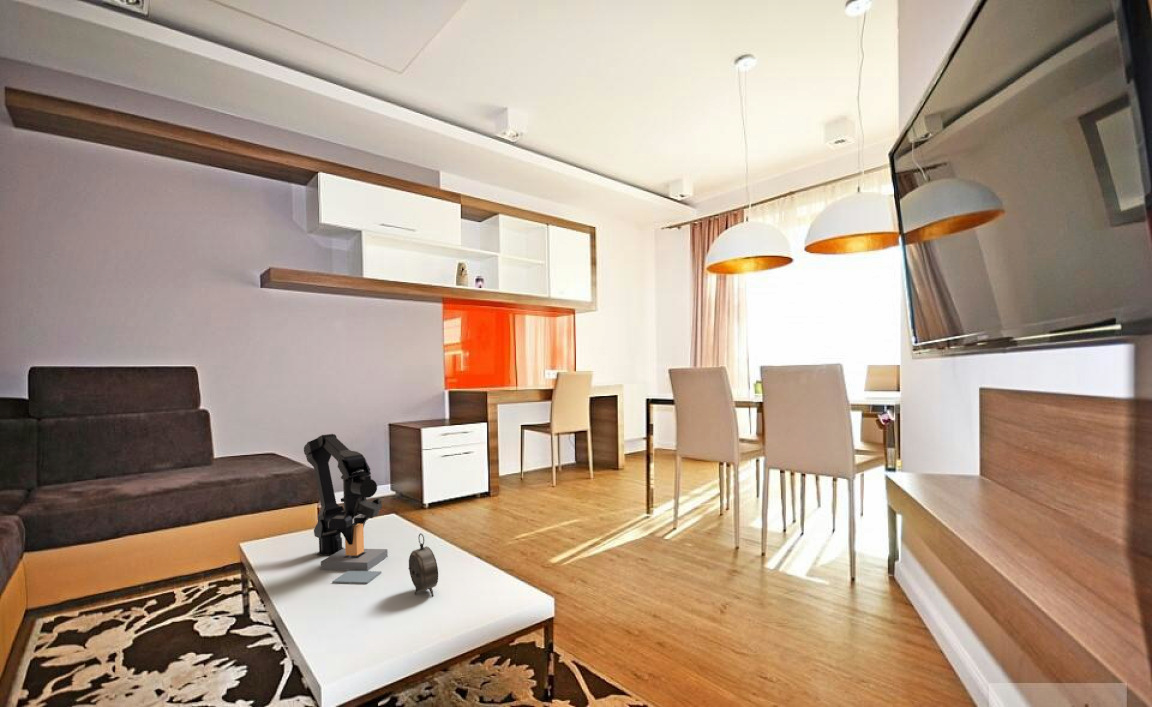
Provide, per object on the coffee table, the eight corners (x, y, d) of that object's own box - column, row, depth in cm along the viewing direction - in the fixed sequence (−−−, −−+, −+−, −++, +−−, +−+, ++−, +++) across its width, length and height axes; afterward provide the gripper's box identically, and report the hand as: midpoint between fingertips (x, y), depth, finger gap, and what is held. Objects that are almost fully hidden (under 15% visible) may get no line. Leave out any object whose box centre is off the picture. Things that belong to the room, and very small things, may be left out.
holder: (320, 569, 164) (320, 561, 164) (343, 555, 176) (343, 548, 176) (367, 570, 162) (367, 562, 162) (387, 556, 173) (387, 549, 174)
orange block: (345, 555, 167) (344, 527, 167) (352, 550, 171) (352, 523, 171) (357, 555, 167) (356, 527, 167) (364, 551, 170) (363, 523, 171)
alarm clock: (440, 596, 141) (438, 535, 142) (420, 602, 138) (418, 540, 138) (424, 583, 150) (422, 527, 150) (406, 589, 146) (404, 531, 147)
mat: (332, 583, 153) (332, 581, 153) (348, 572, 161) (348, 570, 161) (366, 583, 151) (366, 582, 151) (381, 573, 159) (381, 571, 159)
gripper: (359, 501, 159) (361, 552, 158) (390, 486, 177) (392, 533, 177) (326, 501, 161) (327, 552, 160) (360, 487, 179) (362, 532, 179)
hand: (354, 542), depth 169 cm, fingers closed on orange block, 4 cm apart
